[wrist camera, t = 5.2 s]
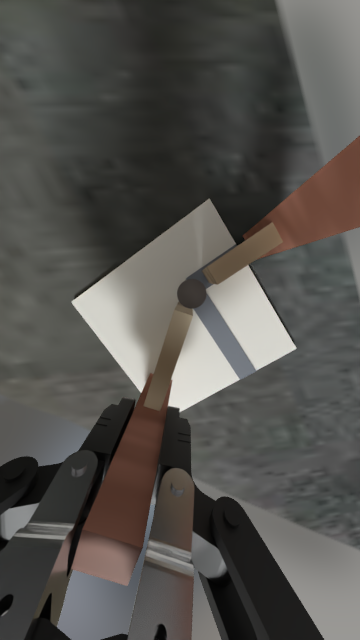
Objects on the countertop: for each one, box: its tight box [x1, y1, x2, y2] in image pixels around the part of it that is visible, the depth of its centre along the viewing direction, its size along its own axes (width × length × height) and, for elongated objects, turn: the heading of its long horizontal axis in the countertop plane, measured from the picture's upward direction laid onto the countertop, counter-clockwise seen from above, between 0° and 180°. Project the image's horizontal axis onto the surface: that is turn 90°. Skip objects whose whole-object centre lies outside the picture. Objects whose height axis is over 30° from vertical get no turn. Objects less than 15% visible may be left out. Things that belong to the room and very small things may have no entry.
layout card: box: [72, 198, 296, 412], centre depth 14 cm, size 12×12×1 cm
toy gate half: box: [72, 302, 193, 586], centre depth 9 cm, size 8×2×9 cm, turn 162°
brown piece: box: [177, 136, 360, 309], centre depth 8 cm, size 2×7×10 cm, turn 124°
